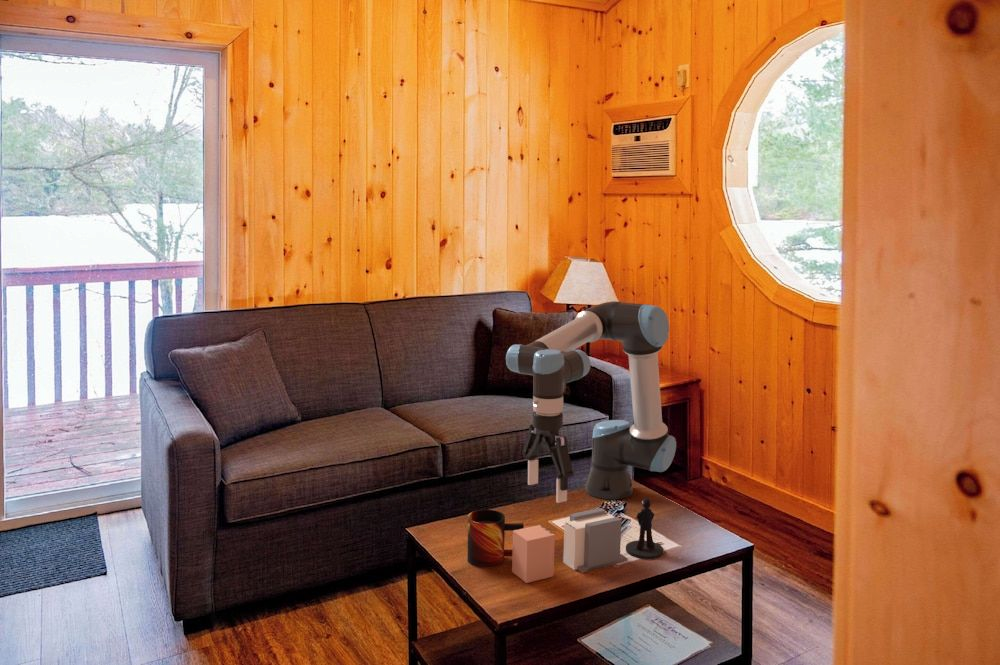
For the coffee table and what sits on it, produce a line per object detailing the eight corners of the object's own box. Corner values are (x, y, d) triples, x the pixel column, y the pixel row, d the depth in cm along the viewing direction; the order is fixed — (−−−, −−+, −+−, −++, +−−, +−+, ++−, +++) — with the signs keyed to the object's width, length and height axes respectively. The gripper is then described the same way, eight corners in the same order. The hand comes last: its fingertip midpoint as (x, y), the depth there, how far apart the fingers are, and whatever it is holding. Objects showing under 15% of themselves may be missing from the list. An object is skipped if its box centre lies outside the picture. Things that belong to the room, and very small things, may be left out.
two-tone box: (606, 548, 227) (608, 506, 225) (627, 561, 219) (629, 517, 217) (559, 559, 219) (560, 516, 217) (578, 573, 212) (580, 528, 210)
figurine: (656, 542, 231) (658, 491, 229) (668, 558, 221) (671, 504, 219) (621, 544, 230) (623, 492, 227) (632, 560, 220) (634, 506, 217)
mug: (524, 560, 219) (525, 516, 217) (478, 571, 212) (478, 526, 210) (506, 546, 227) (507, 504, 225) (461, 556, 220) (461, 513, 218)
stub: (538, 565, 215) (539, 524, 213) (553, 576, 209) (554, 534, 207) (512, 571, 211) (512, 530, 210) (526, 583, 205) (527, 540, 204)
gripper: (509, 402, 217) (509, 479, 221) (562, 427, 196) (561, 512, 200) (534, 398, 221) (533, 474, 225) (589, 422, 199) (587, 506, 203)
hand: (546, 492), depth 212 cm, fingers open, 13 cm apart
